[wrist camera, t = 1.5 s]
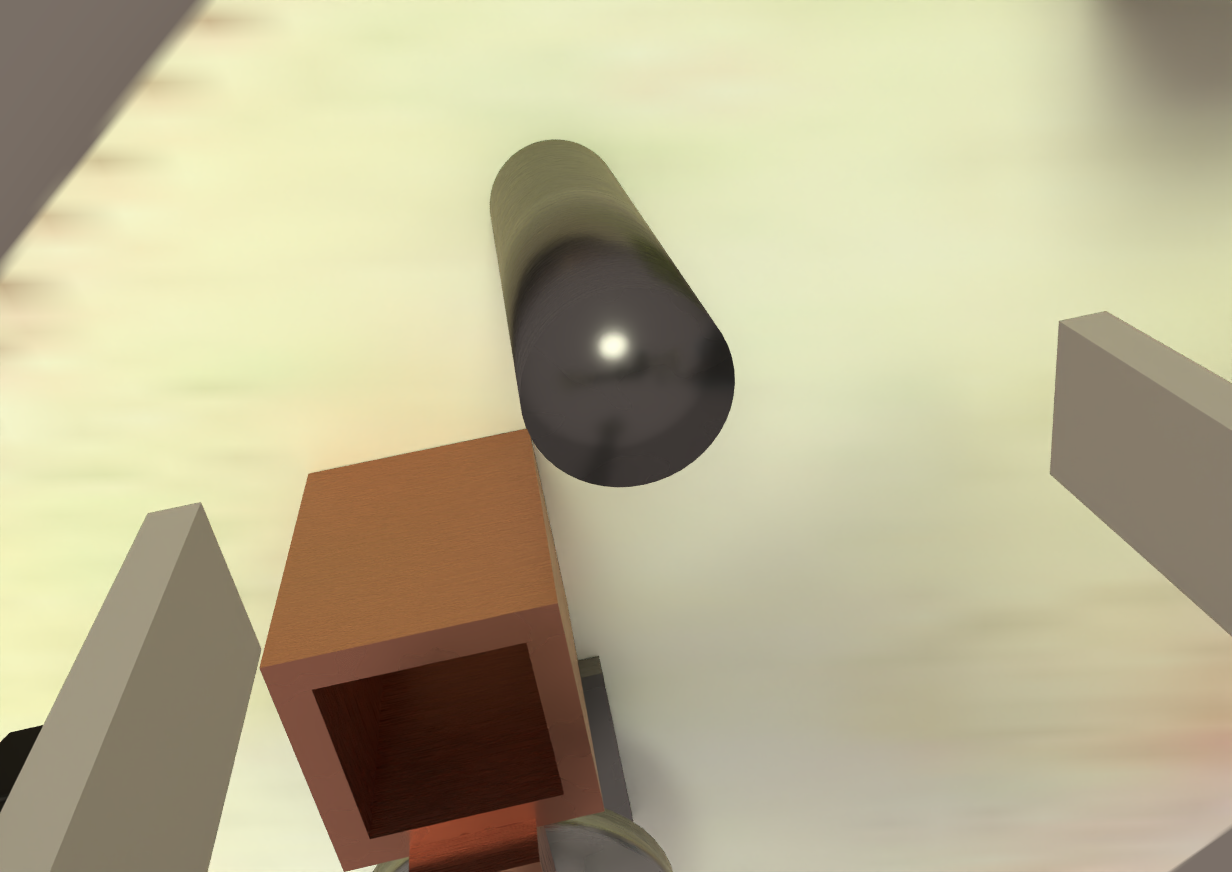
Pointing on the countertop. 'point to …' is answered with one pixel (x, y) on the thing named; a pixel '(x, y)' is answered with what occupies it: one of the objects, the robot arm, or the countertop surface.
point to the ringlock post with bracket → (446, 673)
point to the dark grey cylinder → (602, 324)
